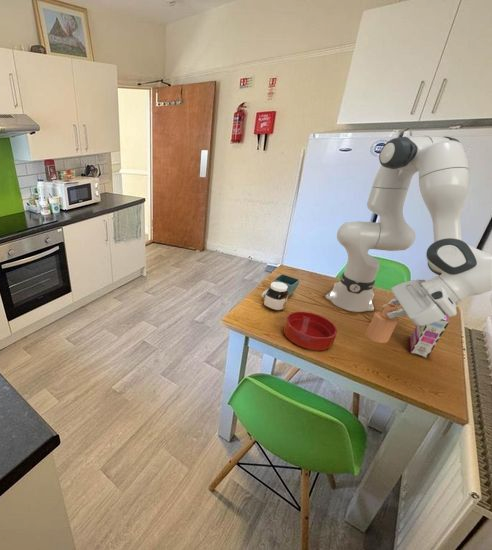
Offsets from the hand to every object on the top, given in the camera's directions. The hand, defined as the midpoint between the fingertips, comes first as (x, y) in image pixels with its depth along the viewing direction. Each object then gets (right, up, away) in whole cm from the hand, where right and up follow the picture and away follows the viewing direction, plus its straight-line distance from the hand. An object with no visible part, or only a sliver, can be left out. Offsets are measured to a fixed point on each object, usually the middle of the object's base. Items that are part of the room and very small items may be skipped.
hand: (385, 312), depth 100 cm
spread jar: (-19, -2, +40) cm, 44 cm away
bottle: (+1, -9, +5) cm, 11 cm away
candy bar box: (+22, -15, +11) cm, 29 cm away
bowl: (-16, -12, +18) cm, 27 cm away
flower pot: (-10, +2, +47) cm, 48 cm away
